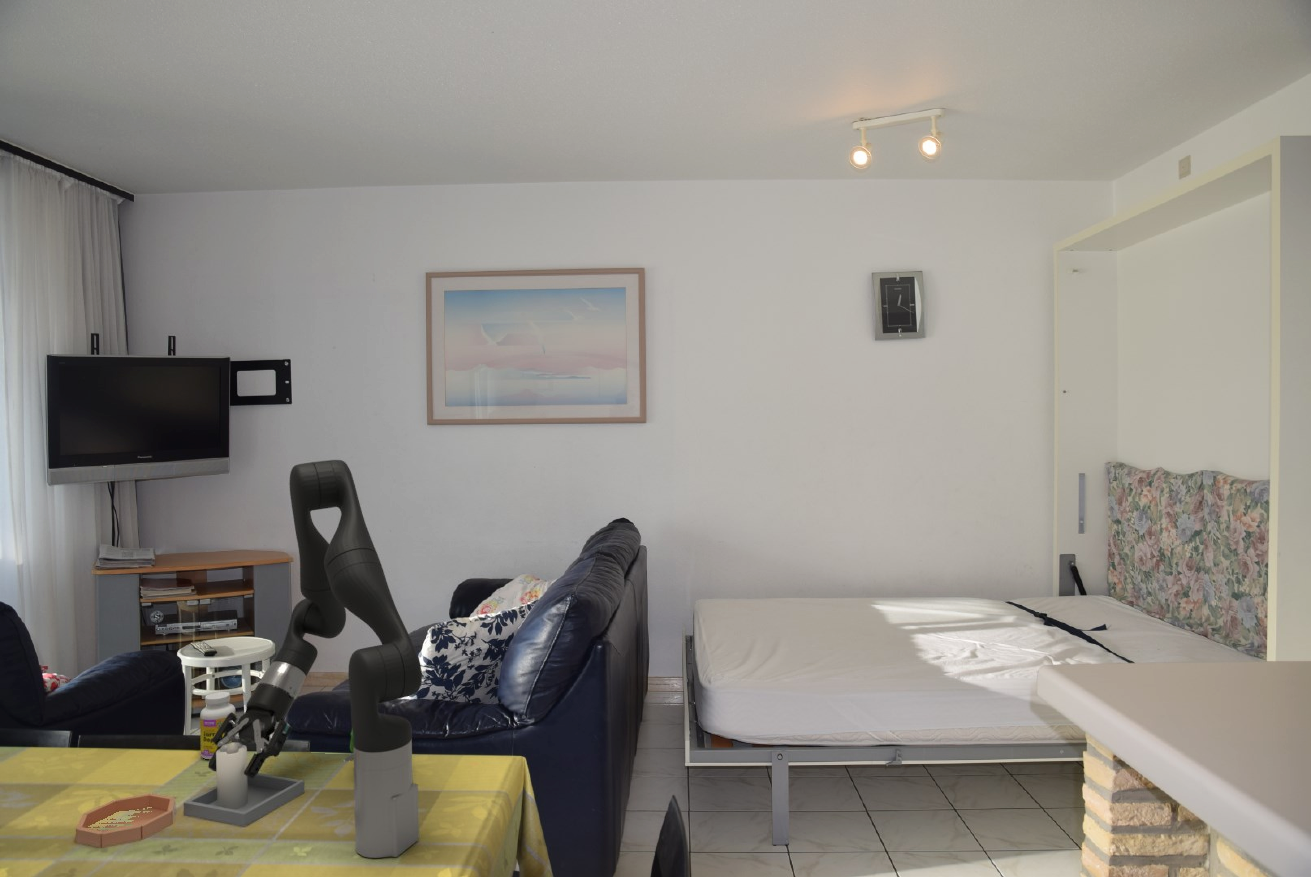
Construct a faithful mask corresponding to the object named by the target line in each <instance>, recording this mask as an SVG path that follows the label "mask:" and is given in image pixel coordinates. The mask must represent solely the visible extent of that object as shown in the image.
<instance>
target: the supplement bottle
mask: <svg viewBox="0 0 1311 877" xmlns="http://www.w3.org/2000/svg"><path fill="white" fill-rule="evenodd" d="M204 697H205V698H204V702H205V704H206V706H205V707H204V708H203V709H202V710H201V711H200V714H199V715H200V717H199V720H200V721H199V722H200V723H199V724H200V726H199V728H200V729H199V730H200V731H199V732H200V756H202V757H203V758H206V759H211V758H212V757H213V755H214V753H215V751H216V749H217V745H216V744H215V743H213V742H212V739H213V737H214V736H215V734H216V733H217V731H218V730H219V728H220V727H221V725H222V724H223V722H224V721H225V719H226V718H227V716H228V715H229V714H230V713H234V714H235V715H236V707H235V706H234V704H232V703H230V700H231V693H230V692H228V691H218V692H212V693H209V694H207V695H206V696H204ZM224 734H225V733H224ZM224 734H223V735H222V737H221V738H220V739H222V738H223V736H224ZM230 742H232V741H230ZM230 742H228V743H227V744H229V743H230ZM202 757H201V758H202ZM203 758H202V759H203Z"/></svg>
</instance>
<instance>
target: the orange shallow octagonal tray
mask: <svg viewBox="0 0 1311 877" xmlns="http://www.w3.org/2000/svg"><path fill="white" fill-rule="evenodd" d="M147 807H152V808H148V809H147ZM143 808H145V810H143ZM176 808H177V806H176V797H173V796H168V795H163V794H158V793H153V792H152V793H145V794H140V795H133V796H128V797H122V798H116V799H113V800H110V801H108V802H107V803H104V804H101V805H100V806H98V807H96V808H93V809H91V810H88V811H87V812H85V813H83V814H82V815H81V817H80V819H79V821H78V823H77V825H76V827H75V839H76V840H75V842H76V843H78V844H81V845H85V846H86V845H87V846H90V847H91V846H92V847H95V848H100V849H101V848H103V849H104V848H108V847H115V846H118V845H123V844H124V845H125V844H127V843H133V842H138V841H142V840H145V839H146V838H149V837H151V836H152V835H155V834H156V833H158V832H160V831H162V830H164V829H166V828H168V827H169V826H172V825H173V824H174V820H175V815H176ZM137 809H139V810H137ZM129 810H135V811H141V812H140V813H134V814H133V815H131V816H136V817H132V818H130V819H128V820H134V821H132V822H127V823H126V822H125V821H124V822H118V823H117V822H116V823H113V822H111V823H108V822H107V823H101V824H132V826H127V827H126V825H124V826H119V827H117V825H115V826H113V825H112V826H111V825H109V826H108V825H107V826H105V828H120V829H115V830H109V831H108V829H107V830H105V831H104V830H102V831H100V830H98V829H97V830H93V829H88V828H91V827H88V826H90V825H92V824H95V823H96V822H98V821H100V820H103V819H105V818H107V817H108V816H111V815H113V814H114V813H116V812H119V811H129ZM143 811H150V812H148V813H147V812H145V813H143ZM151 811H152V812H151ZM128 816H130V815H128ZM138 816H139V817H138ZM107 820H108V819H107ZM110 820H116V819H113V818H112V819H110ZM120 820H121V819H120ZM99 824H100V823H99ZM93 828H100V827H99V826H98V827H93ZM103 828H104V827H103ZM121 828H122V829H121Z"/></svg>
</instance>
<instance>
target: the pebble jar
mask: <svg viewBox="0 0 1311 877" xmlns="http://www.w3.org/2000/svg"><path fill="white" fill-rule="evenodd" d="M247 766H248V748H247V745H245V744H240V743H238V742H236V743H235V742H232V743H229V744H225V745H223V746H222V747H221V748H220V749H219V750H217V752H216V769H217V772H216V786H217V806H218V807H223V808H229V809H238V808H240V807H243V806H244V805H246V804H247V803H248V777H247V776H246V775H245V774H244V771H245V769H246V768H247Z"/></svg>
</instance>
